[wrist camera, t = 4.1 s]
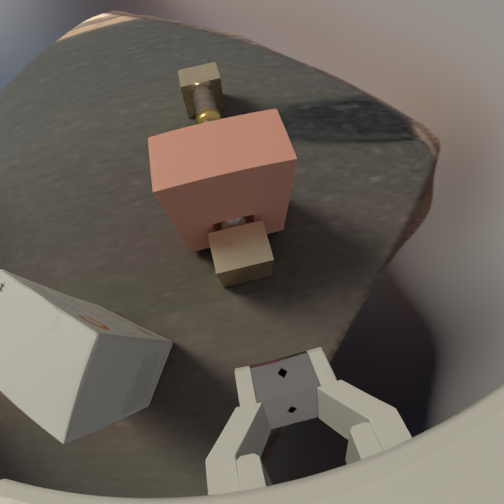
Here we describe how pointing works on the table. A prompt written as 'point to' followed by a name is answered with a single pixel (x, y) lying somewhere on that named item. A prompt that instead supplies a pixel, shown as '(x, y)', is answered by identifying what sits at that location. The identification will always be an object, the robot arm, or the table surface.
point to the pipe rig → (236, 230)
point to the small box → (73, 360)
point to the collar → (223, 174)
